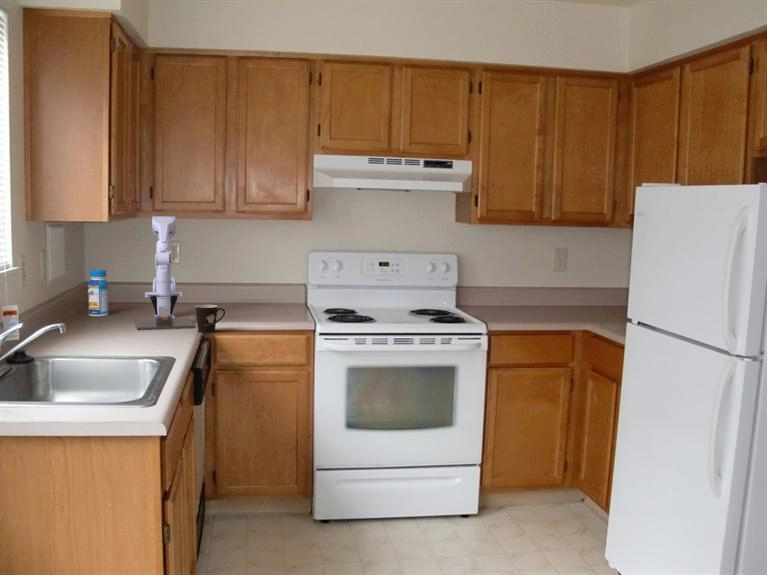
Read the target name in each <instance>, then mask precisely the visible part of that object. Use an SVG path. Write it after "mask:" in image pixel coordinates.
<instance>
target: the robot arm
mask: <svg viewBox="0 0 767 575" xmlns="http://www.w3.org/2000/svg"><path fill="white" fill-rule="evenodd" d="M151 218H152V219H151V221H152V222H151V224H152V226H151V228H152V233H153V236H154V237H156V238H157V239H158V240H157V241H156V249H155V250H156V252H155V254H154V264H155V271H156V274H155V275H156V276H155V277H154V278H153V280H152V291H148V292H147V291H145V292H144V298H150V300H151V303H152V306H153V309H154V315H153V316H154V317H155V318H154V319H156V316H159V307H161V306H168V307H169V315H171V316H172V318H176V316H175V314H174V308H175V305H176V302H177V301H178V297H180V298H182V297H183V292H182V291H177V279H176V278H175V277H174V276H173V275H172V264H173V262H172V261H173V258H172V257H173V255H172V250H171V249H172V244H171V239H172V238H173V237H175V236H176V233H177V232H176V231H177V218H176V216H175V215H173V216H167V215H166V216H164V215H163V216H159V215H158V216H156V215H153V216H152V217H151Z"/></svg>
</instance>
